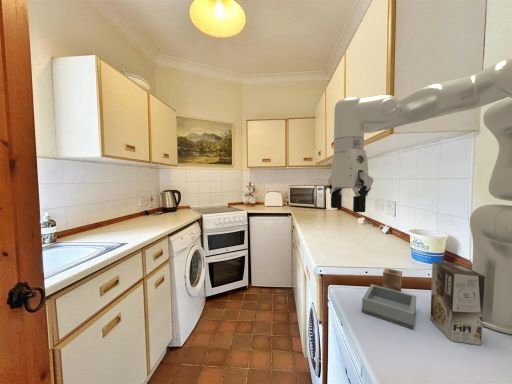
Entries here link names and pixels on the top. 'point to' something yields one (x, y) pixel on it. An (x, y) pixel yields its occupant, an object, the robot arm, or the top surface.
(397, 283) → the walnut block
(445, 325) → the coffee box
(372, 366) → the top surface
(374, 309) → the tray
